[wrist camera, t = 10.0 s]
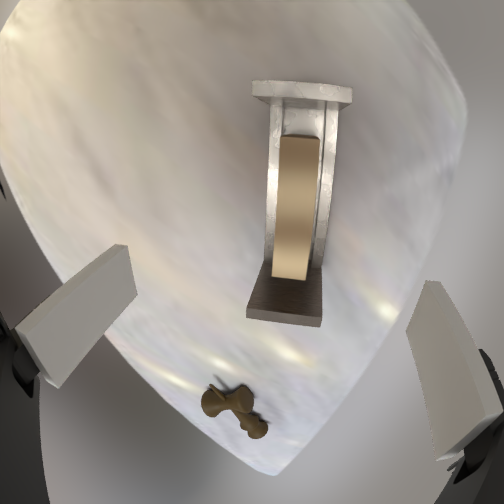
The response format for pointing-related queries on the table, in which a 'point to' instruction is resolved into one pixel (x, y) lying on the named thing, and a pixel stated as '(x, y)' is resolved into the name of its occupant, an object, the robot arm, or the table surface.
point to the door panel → (295, 204)
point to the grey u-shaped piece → (325, 128)
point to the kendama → (235, 409)
